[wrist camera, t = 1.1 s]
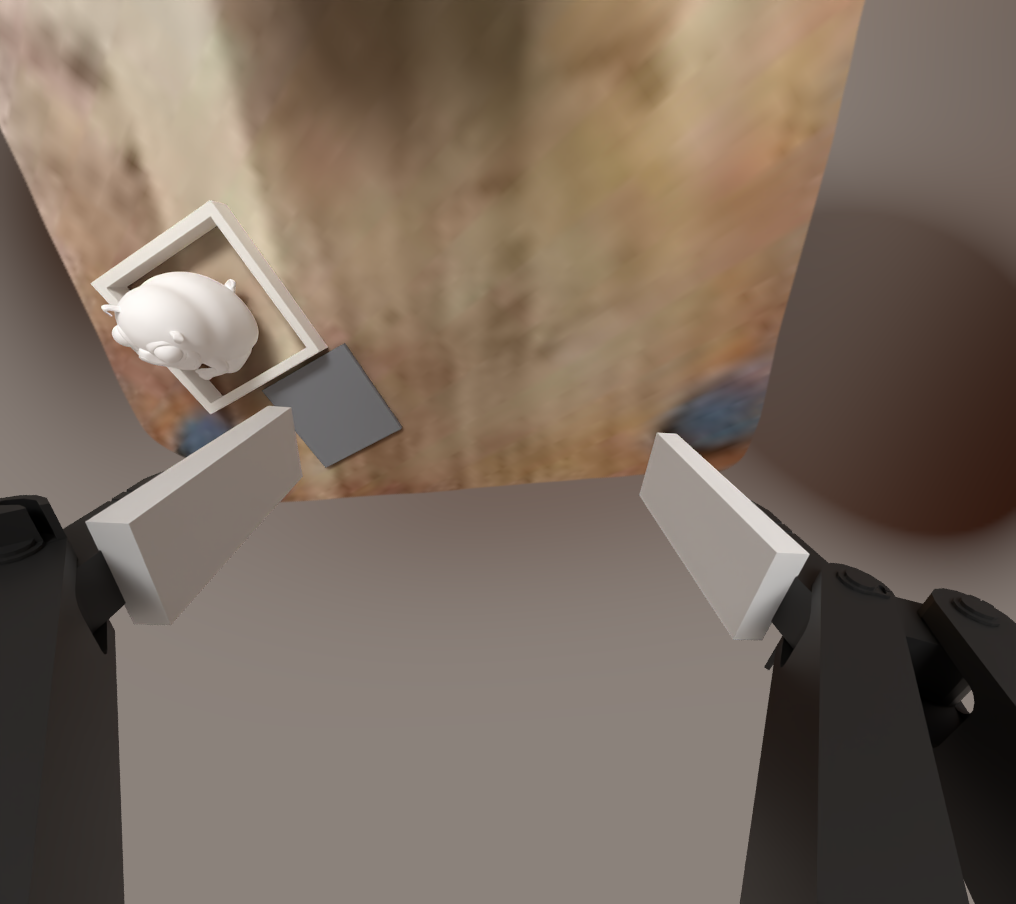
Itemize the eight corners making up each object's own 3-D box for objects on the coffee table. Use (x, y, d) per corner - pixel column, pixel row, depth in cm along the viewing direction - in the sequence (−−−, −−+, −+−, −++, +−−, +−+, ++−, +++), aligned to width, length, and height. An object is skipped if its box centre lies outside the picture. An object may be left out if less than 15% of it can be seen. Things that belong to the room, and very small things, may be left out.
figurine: (195, 247, 40) (86, 239, 29) (285, 306, 43) (216, 318, 32) (166, 326, 43) (58, 345, 33) (251, 376, 46) (178, 409, 35)
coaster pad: (264, 389, 47) (261, 390, 46) (344, 343, 45) (343, 344, 44) (327, 465, 52) (325, 467, 51) (402, 426, 50) (401, 428, 49)
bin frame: (112, 282, 41) (90, 283, 39) (226, 203, 39) (210, 200, 36) (223, 407, 48) (210, 414, 45) (328, 347, 45) (319, 351, 43)
